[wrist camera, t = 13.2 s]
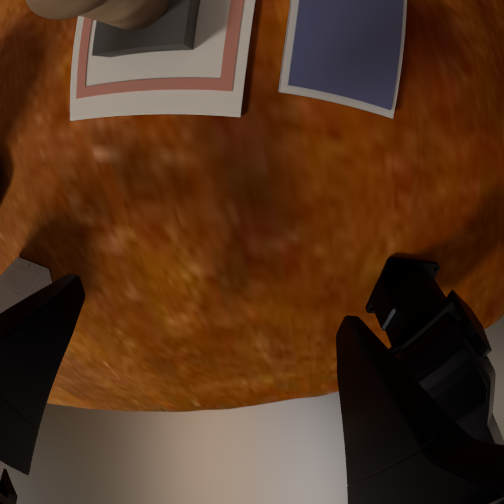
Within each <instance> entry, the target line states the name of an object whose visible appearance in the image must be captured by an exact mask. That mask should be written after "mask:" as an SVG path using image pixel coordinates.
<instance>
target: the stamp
mask: <svg viewBox="0 0 504 504" xmlns="http://www.w3.org/2000/svg"><path fill="white" fill-rule="evenodd" d="M26 2H27V5H28V6H29V8H30V9H31V10H32V11H33V12H34V13H36V14H37V15H39V16H41V17H44V18H48V19H68V18H73V17H77V16H82V17H86V18H89V19H93V20H96V27H95V34H94V41H93V50H92V56H102V57H110V58H111V57H117V56H123V55H130V54H139V53H148V52H159V51H176V50H193V48H194V40H195V32H196V25H197V19H198V12H199V6H200V0H26Z"/></svg>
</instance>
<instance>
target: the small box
mask: <svg viewBox="0 0 504 504" xmlns="http://www.w3.org/2000/svg"><path fill="white" fill-rule="evenodd" d="M51 283H52V280H51V276H50V271H49V269H48V268H46V267H43V266H40V265H38V264H35V263H32V262H30V261H27V260H25V259H22V258H20V257H17V258H16V259H15V260H14V261H13V262H12V263H11V264H10V266H9V267H8V268H7V269H6V270H5V271H4V272H3V274H2V275H1V276H0V313H1V312H3V311H5V310H6V309H8V308H10V307H11V306H13V305H15V304H16V303H18V302H20V301H21V300H23V299H25V298H26V297H28V296H30V295H32V294H33V293H35V292H37V291H39V290H40V289H42V288H44V287H46V286H47V285H49V284H51Z"/></svg>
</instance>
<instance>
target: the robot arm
mask: <svg viewBox="0 0 504 504" xmlns="http://www.w3.org/2000/svg"><path fill="white" fill-rule="evenodd" d="M392 262H393V263H392ZM391 263H392V264H391ZM439 268H440V266H439V264H438V263H436V262H429V261H421V260H413V259H405V258H397V257H390V258H389V259H387V261H386V263H385V266H384V268H383V270H382V273H381V275H380V277H379V279H378V281H377V283H376V285H375V287H374V289H373V292H372V294H371V296H370V298H369V301H368V303H367V305H366V311H367V312H368V313H375V314H376V317H377V319H378V322H379V324H380V327H381V329H382V330H383V331H386V333H387V336H388V338H389V341H390V344H391V346H392V347H390V348H389V349H388V348H387V347H386V346H385V345H384V344H383V343H382V342H381V341H380V339H379V338H378V337H377V336H376V335H375V334H374V333H373V332H372V331H371V330H370V329H369V328H368V327H367V325H366V324H365V323H364V322H363V321H362V320H361V319H360V318H359V317H357V316H349V315H348V316H346V317H345V318H344V319H343V321H342V323H341V325H340V327H339V329H338V331H337V334H336V351H337V379H338V388H339V396H340V404H341V413H342V421H343V432H344V442H345V454H346V468H347V485H348V486H347V489H348V504H504V441H503V438H502V436H501V433H500V430H499V428H498V425H497V423H496V421H495V418H494V416H493V413H492V411H493V402H494V391H495V390H494V389H495V370H494V368H493V366H492V364H491V362H490V360H489V358H488V357H487V355H488V354H489V353H490V352H491V351H492V350H491V347H490V344H489V341H488V339H487V336H486V334H485V331H484V329H483V326H482V324H481V323H480V321H479V320H478V318H477V317H476V315H475V314H474V312H473V311H472V310H471V308H470V307H469V306H468V305H467V304H466V303H465V302H464V301H463V300H462V299H461V298H460V297H459V296H458V295H457V294H456V293H455V292H454V291H453V290H452V291H451V292H450V293H449V294H448V296H447V297H445V295H444V294H443V292H442V291H441V289H440V288H439V286H438V285H437V283H436V282H435V280H434V278H435V276H436V275H437V273H438V271H439ZM84 300H85V292H84V289H83V285H82V282H81V279H80V277H79V276H78V275H74V274H68V275H66V276H64V277H62V278H60V279H58V280H57V281H55V282H53V283H51V284H49V285H47V286H46V287H44V288H42V289H40V290H39V291H37V292H35V293H33V294H32V295H30V296H28V297H26V298H25V299H23V300H21V301H20V302H18V303H16V304H15V305H13V306H11V307H10V308H8V309H6V310H5V311H3V312H1V313H0V504H16V501H17V494H16V492H15V490H14V487H13V485H12V483H11V480H10V478H9V475H8V472H7V470H6V469H5V468H4V466H5V464H7V465H8V466H10V467H12V468H14V469H16V470H18V471H20V472H22V473H24V474H26V475H29V472H30V466H31V461H32V456H33V452H34V447H35V442H36V439H37V435H38V430H39V427H40V423H41V420H42V416H43V413H44V409H45V406H46V403H47V400H48V397H49V394H50V391H51V388H52V385H53V382H54V380H55V377H56V374H57V371H58V369H59V366H60V364H61V361H62V359H63V356H64V354H65V351H66V349H67V346H68V344H69V342H70V339H71V337H72V334H73V331H74V329H75V326H76V323H77V320H78V317H79V314H80V311H81V308H82V306H83V303H84Z"/></svg>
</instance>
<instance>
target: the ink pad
mask: <svg viewBox="0 0 504 504" xmlns="http://www.w3.org/2000/svg"><path fill="white" fill-rule="evenodd" d="M406 9H407V0H290V6H289V14H288V22H287V29H286V37H285V44H284V52H283V59H282V66H281V74H280V81H279V89H278V92H281V93H288V94H294V95H300V96H305V97H311V98H316V99H321V100H325V101H330V102H334V103H339V104H343V105H347V106H351V107H355V108H358V109H362V110H365V111H369V112H372V113H376V114H379V115H382V116H386V117H389V118H393V115H394V110H395V105H396V99H397V93H398V87H399V81H400V74H401V66H402V58H403V50H404V39H405V27H406Z"/></svg>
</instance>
